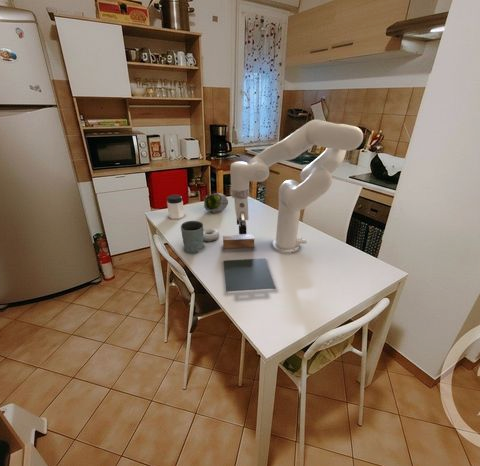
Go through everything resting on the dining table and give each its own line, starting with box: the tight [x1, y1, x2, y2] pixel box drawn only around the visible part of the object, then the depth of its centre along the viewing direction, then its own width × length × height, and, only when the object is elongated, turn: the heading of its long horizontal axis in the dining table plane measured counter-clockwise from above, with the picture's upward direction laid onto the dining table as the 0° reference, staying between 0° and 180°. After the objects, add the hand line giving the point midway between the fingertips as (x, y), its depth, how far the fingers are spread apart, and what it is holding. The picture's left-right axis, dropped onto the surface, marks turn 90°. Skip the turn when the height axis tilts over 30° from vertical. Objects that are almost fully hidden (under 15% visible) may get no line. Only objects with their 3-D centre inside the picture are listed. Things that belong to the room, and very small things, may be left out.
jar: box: [166, 194, 185, 220], centre depth 151 cm, size 9×8×12 cm
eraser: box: [222, 234, 255, 250], centre depth 121 cm, size 14×4×6 cm, turn 96°
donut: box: [203, 227, 220, 242], centre depth 130 cm, size 10×3×10 cm
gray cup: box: [180, 220, 204, 254], centre depth 119 cm, size 10×10×12 cm
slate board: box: [223, 258, 276, 292], centre depth 103 cm, size 18×20×1 cm
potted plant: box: [203, 192, 229, 214], centre depth 158 cm, size 12×13×15 cm
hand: (241, 228), depth 117 cm, fingers open, 9 cm apart
